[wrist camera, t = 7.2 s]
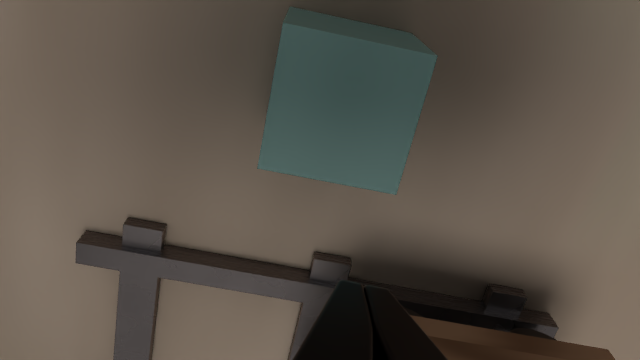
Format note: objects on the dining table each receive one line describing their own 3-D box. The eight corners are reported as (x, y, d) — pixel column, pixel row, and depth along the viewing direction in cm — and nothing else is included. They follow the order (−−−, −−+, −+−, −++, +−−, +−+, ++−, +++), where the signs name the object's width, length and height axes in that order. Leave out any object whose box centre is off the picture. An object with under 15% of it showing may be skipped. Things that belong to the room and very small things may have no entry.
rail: (79, 401, 26) (70, 418, 25) (86, 209, 22) (77, 221, 21) (477, 461, 28) (483, 478, 27) (557, 296, 24) (567, 309, 23)
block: (268, 124, 20) (257, 168, 16) (290, 6, 19) (283, 22, 14) (380, 145, 21) (396, 194, 17) (411, 32, 19) (438, 56, 15)
